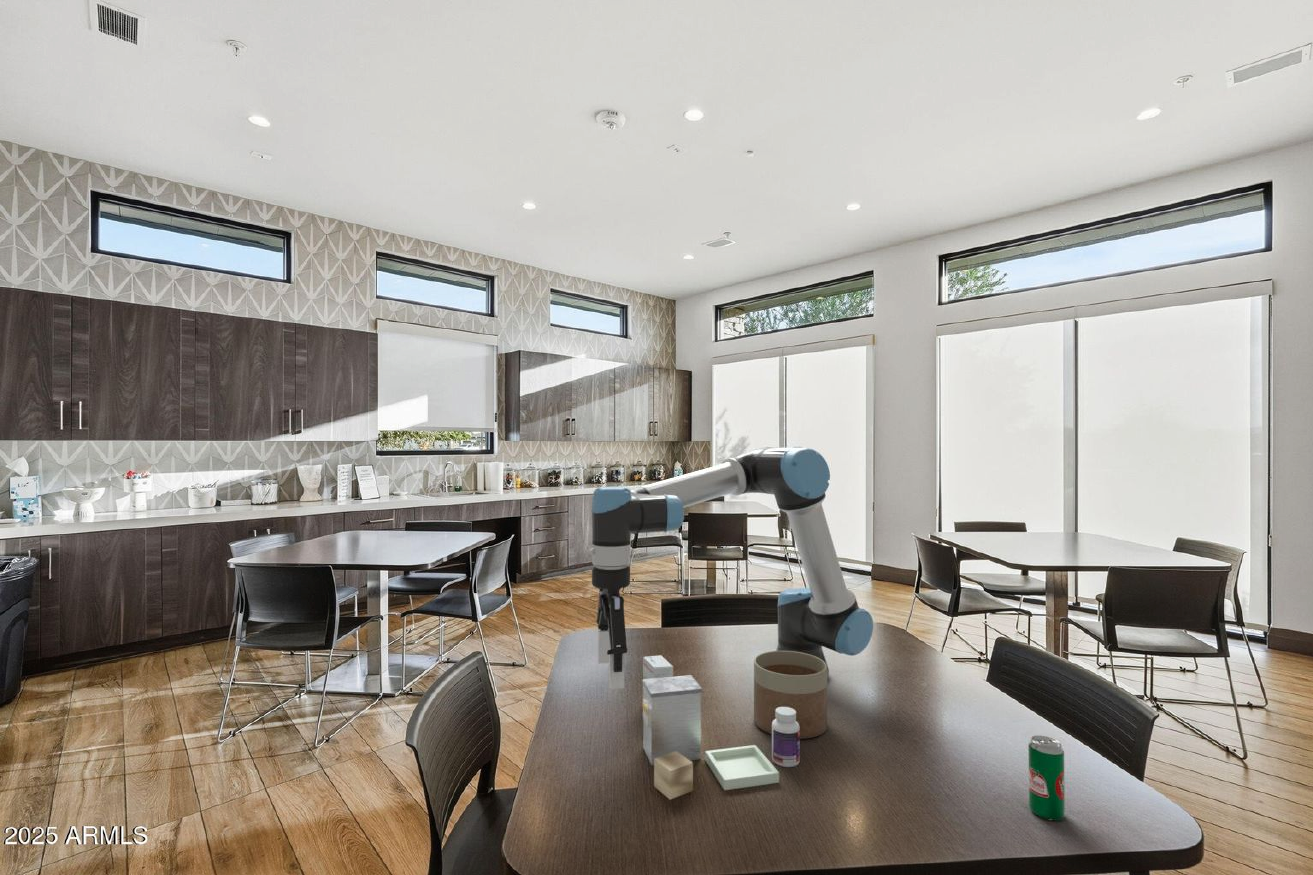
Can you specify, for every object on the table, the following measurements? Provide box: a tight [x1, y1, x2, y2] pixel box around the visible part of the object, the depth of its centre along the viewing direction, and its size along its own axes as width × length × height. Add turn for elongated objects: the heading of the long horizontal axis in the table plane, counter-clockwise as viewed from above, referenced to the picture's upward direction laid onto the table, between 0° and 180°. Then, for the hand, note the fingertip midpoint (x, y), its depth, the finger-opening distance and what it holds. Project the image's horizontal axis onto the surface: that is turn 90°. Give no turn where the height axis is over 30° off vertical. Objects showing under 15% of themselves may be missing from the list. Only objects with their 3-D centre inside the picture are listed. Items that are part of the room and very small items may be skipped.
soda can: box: [1027, 735, 1066, 821], centre depth 101 cm, size 5×5×12 cm
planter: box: [753, 650, 828, 740], centre depth 133 cm, size 16×16×14 cm
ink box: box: [642, 654, 674, 700], centre depth 139 cm, size 9×5×12 cm, turn 20°
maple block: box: [653, 751, 694, 800], centre depth 107 cm, size 5×5×5 cm
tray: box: [704, 744, 780, 791], centre depth 113 cm, size 11×11×2 cm
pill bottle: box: [771, 707, 801, 768], centre depth 117 cm, size 5×5×10 cm
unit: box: [641, 674, 703, 766], centre depth 120 cm, size 11×7×14 cm
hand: (610, 674), depth 117 cm, fingers open, 13 cm apart
